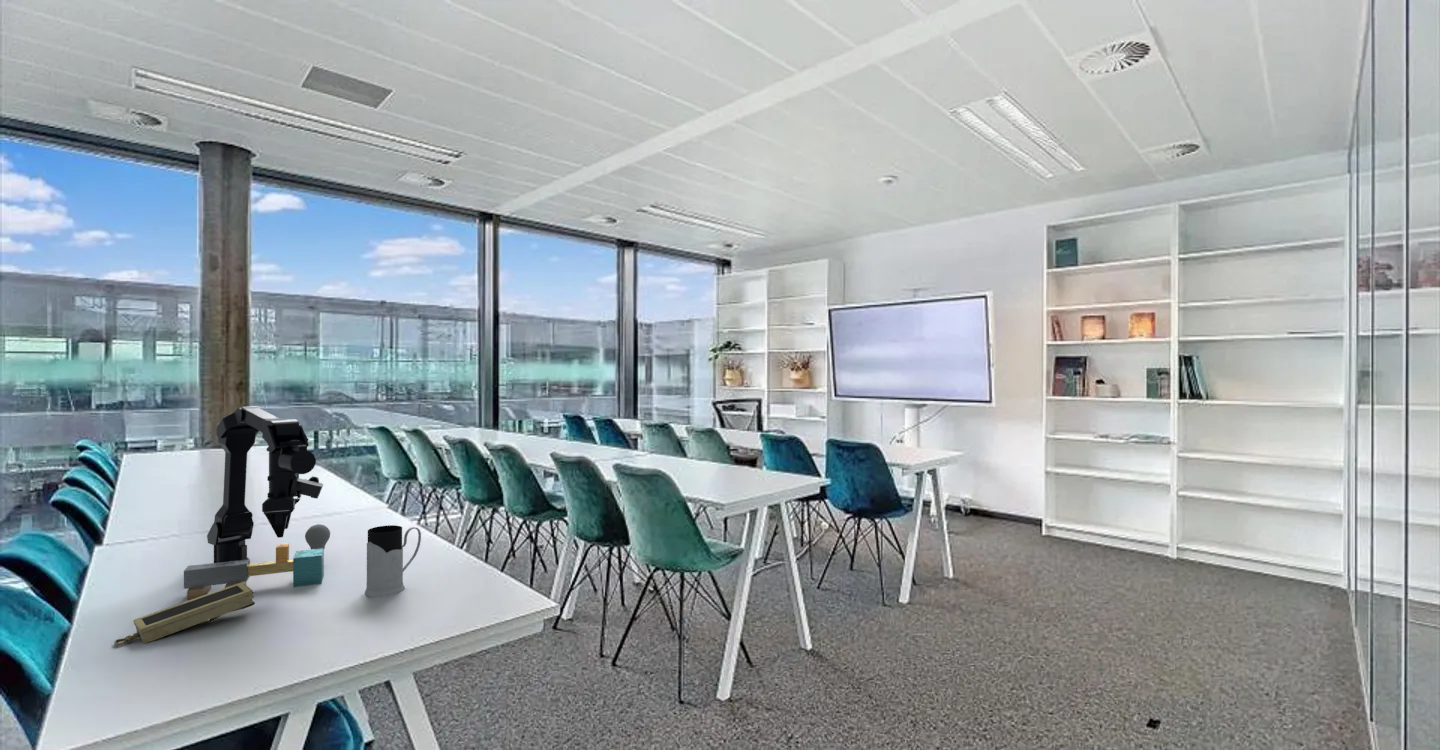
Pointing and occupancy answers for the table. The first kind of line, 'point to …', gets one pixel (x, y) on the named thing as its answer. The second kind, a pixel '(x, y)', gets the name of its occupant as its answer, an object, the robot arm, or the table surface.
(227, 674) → the table surface
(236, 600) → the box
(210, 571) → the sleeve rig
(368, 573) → the glass holder
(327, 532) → the light bulb
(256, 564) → the yellow sliding bolt
